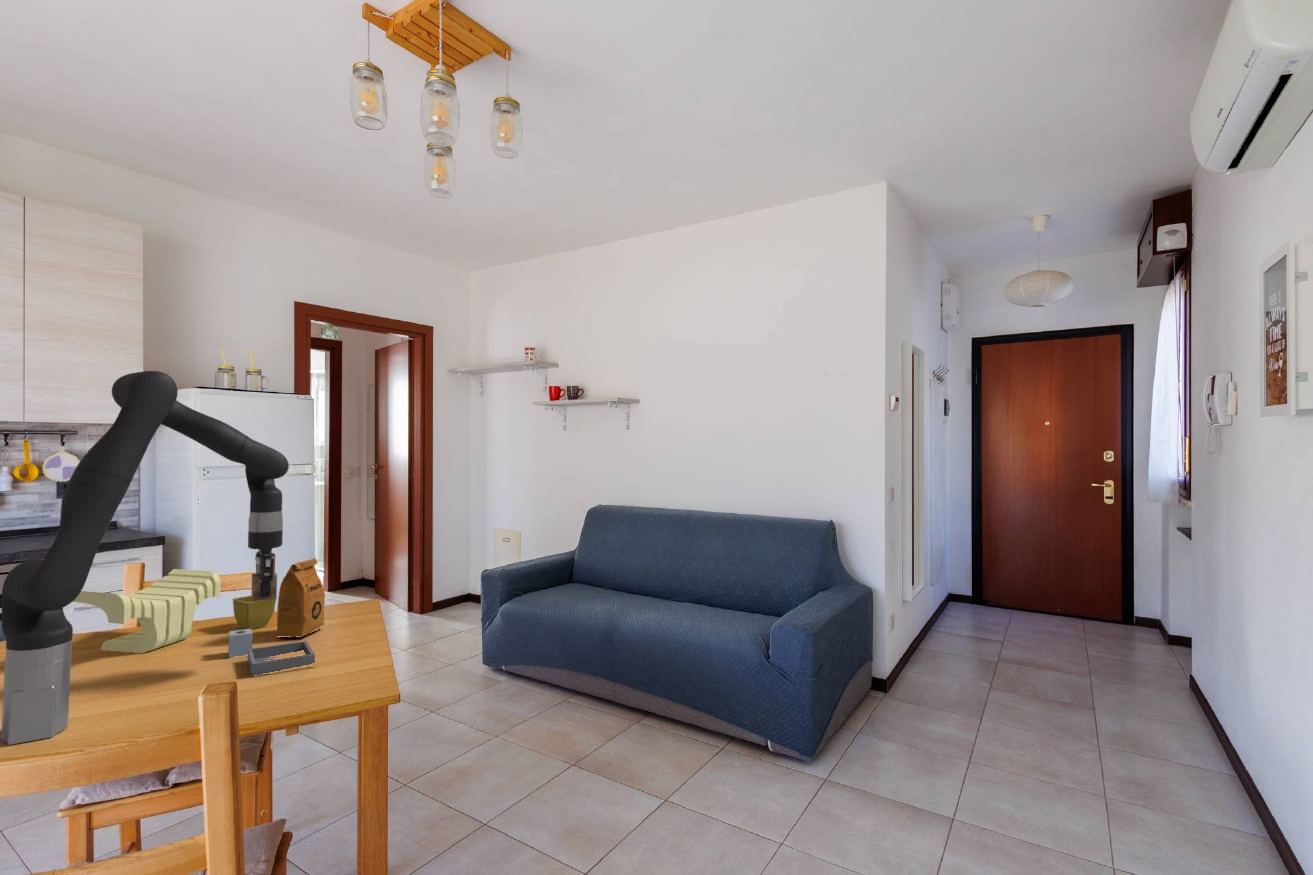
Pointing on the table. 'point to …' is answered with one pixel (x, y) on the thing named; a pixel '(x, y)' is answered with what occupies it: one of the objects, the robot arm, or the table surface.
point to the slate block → (240, 642)
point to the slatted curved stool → (156, 609)
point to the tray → (262, 653)
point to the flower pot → (253, 612)
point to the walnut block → (256, 587)
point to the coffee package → (300, 601)
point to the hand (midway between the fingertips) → (264, 594)
